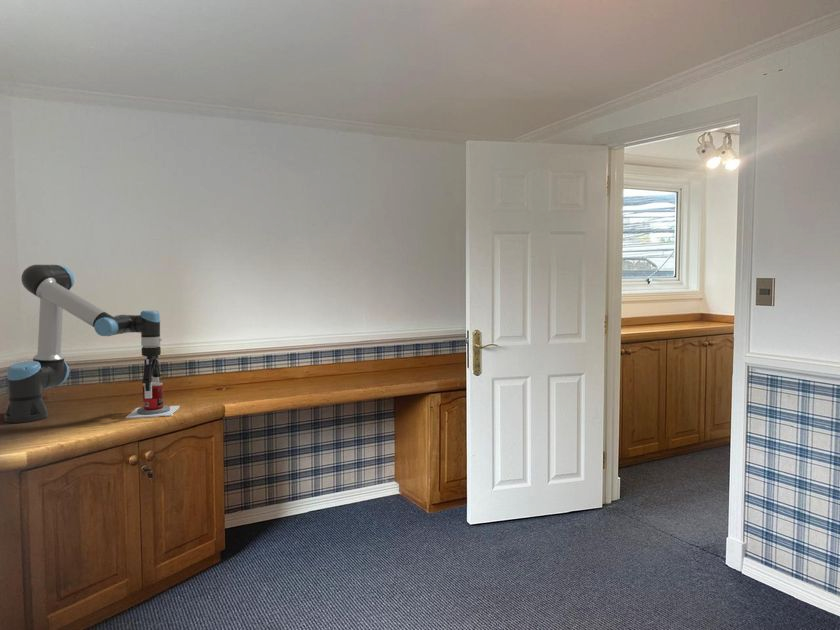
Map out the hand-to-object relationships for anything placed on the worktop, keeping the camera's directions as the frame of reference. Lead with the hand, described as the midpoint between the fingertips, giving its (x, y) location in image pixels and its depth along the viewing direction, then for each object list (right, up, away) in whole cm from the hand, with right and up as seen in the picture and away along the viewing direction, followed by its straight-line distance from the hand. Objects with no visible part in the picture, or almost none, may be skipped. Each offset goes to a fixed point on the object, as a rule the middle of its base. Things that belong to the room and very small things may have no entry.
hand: (152, 395), depth 256 cm
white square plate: (0, -8, 0) cm, 8 cm away
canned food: (0, -6, 0) cm, 6 cm away
